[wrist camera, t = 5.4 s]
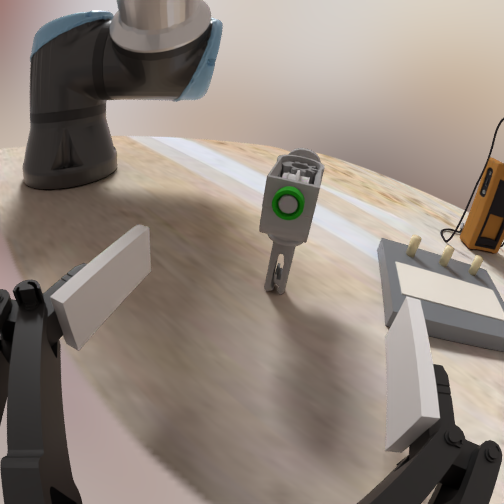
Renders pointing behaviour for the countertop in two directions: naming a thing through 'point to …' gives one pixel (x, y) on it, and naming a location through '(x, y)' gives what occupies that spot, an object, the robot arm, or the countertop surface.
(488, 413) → the countertop surface
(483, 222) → the multimeter
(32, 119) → the robot arm
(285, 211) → the mechanical component
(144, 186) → the countertop surface
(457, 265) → the board
